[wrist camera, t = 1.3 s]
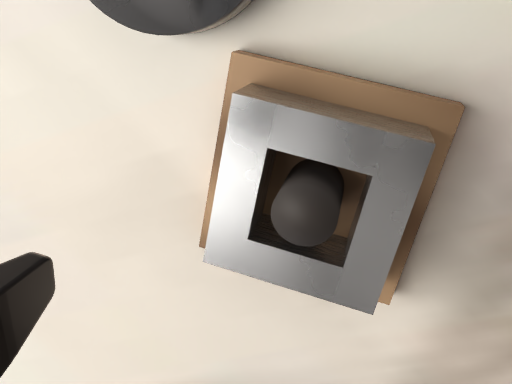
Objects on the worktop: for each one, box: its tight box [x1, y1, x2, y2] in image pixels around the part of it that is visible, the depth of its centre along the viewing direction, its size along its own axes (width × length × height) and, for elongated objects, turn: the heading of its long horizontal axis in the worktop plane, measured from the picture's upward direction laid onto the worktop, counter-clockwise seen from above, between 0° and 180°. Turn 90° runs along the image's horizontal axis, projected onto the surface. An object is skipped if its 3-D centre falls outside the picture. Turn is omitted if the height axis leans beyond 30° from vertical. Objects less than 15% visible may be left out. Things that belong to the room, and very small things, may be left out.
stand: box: [199, 50, 465, 305], centre depth 18 cm, size 9×9×4 cm
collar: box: [203, 83, 436, 315], centre depth 18 cm, size 7×7×3 cm
